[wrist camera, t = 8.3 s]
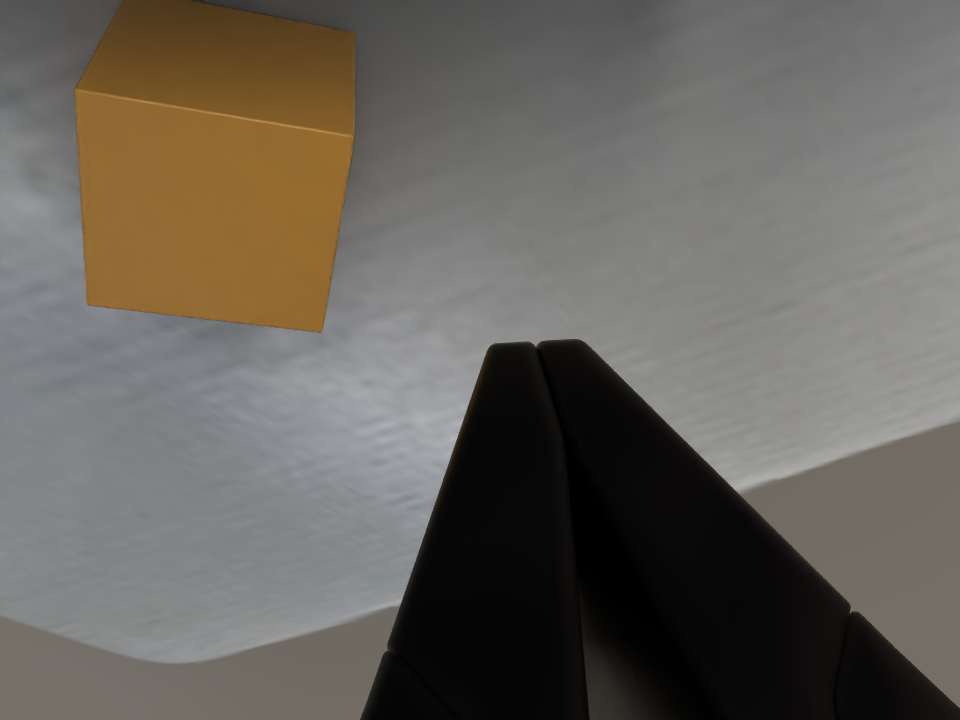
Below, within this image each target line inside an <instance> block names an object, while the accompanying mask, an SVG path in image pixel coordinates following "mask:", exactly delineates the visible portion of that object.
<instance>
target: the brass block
mask: <svg viewBox="0 0 960 720" xmlns="http://www.w3.org/2000/svg"><path fill="white" fill-rule="evenodd" d="M355 37H356V35H355V33H354V32H349V31H344V30H339V29H334V28H329V27H324V26H319V25H314V24H308V23H303V22H298V21H293V20H288V19H283V18H278V17H273V16H268V15H263V14H258V13H253V12H247V11H242V10H237V9H232V8H227V7H222V6H217V5H212V4H207V3H202V2H197V1H192V0H122V1H121V3H120V5H119V7H118V8H117V10H116V12H115V14H114V16H113V18H112V20H111V22H110V24H109V25H108V27H107V29H106V31H105V33H104V35H103V37H102V39H101V41H100V42H99V44H98V46H97V48H96V50H95V52H94V54H93V56H92V58H91V59H90V61H89V63H88V65H87V67H86V69H85V71H84V73H83V75H82V77H81V78H80V80H79V82H78V84H77V86H76V88H75V90H74V94H75V111H76V128H77V145H78V162H79V179H80V195H81V212H82V229H83V246H84V263H85V280H86V297H87V304H88V305H89V306H97V307H105V308H114V309H123V310H131V311H140V312H148V313H157V314H165V315H174V316H183V317H191V318H200V319H208V320H217V321H225V322H234V323H243V324H251V325H260V326H268V327H277V328H285V329H294V330H303V331H311V332H322V331H323V327H324V321H325V315H326V309H327V303H328V297H329V291H330V285H331V279H332V273H333V267H334V261H335V255H336V249H337V242H338V236H339V230H340V224H341V218H342V212H343V206H344V200H345V194H346V188H347V182H348V176H349V170H350V163H351V157H352V151H353V145H354V139H355Z"/></svg>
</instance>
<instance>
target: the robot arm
mask: <svg viewBox="0 0 960 720" xmlns="http://www.w3.org/2000/svg"><path fill="white" fill-rule="evenodd" d="M387 647H388V651H386V652H385V653H384V654H383V656H382V659H381V662H380V665H379V668H378V672H377V674H376V677H375V680H374V683H373V686H372V689H371V692H370V695H369V697H368V700H367V703H366V705H365V708H364V711H363V713H362V716H361V719H360V720H960V708H959V707H958V706H956V705H955V704H954V703H953V702H952V701H951V700H950V699H949V698H948V697H947V696H946V695H945V694H944V693H943V692H942V691H940V690H939V689H938V688H937V687H936V686H935V685H934V684H933V683H932V682H931V681H930V680H929V679H928V678H927V677H926V676H925V675H923V674H922V673H921V672H920V671H919V670H918V669H917V668H916V667H915V666H914V665H913V664H912V663H911V662H910V661H909V660H908V659H907V658H905V657H904V656H903V655H902V654H901V653H900V652H899V651H898V650H897V649H896V648H895V647H894V646H893V645H892V644H891V643H890V642H889V641H888V640H887V639H886V638H885V637H884V636H883V635H882V634H881V633H880V632H879V631H878V630H877V629H876V628H875V627H874V626H873V625H872V624H871V623H870V622H869V621H867V620H866V618H864V617H863V616H862V615H861V614H860V613H859V612H856V611H854V612H851V613H850V604H849V602H848V601H847V600H846V599H845V598H844V597H843V596H842V595H841V594H840V593H839V592H838V591H837V590H836V589H834V587H833V586H831V584H829V583H828V582H827V581H826V580H825V579H824V578H823V577H822V576H821V575H820V574H819V573H818V572H817V571H816V570H815V569H814V568H813V567H812V566H811V565H810V564H809V563H808V562H807V561H806V560H805V559H804V558H803V557H802V556H801V555H800V554H799V553H798V552H797V551H796V550H795V549H794V548H793V547H792V546H791V545H790V544H789V543H788V542H787V541H786V540H785V539H784V538H783V537H782V536H781V535H780V534H779V533H778V532H777V531H776V530H775V529H774V528H773V527H772V526H771V525H770V524H769V523H768V522H766V520H764V518H763V517H762V516H761V515H760V514H758V512H757V511H756V510H755V509H754V508H752V506H751V505H750V504H748V503H747V502H746V501H745V500H744V499H743V498H742V497H741V496H740V495H739V494H738V493H737V492H736V491H735V490H734V489H733V488H732V487H731V486H730V485H729V484H728V483H727V482H726V481H725V480H724V479H723V478H722V477H721V476H720V475H719V474H718V473H717V472H716V471H715V470H714V469H713V468H712V467H711V466H710V465H709V464H708V463H707V462H706V461H705V460H704V459H703V458H702V457H701V456H700V455H699V454H698V453H697V452H696V451H695V450H694V449H693V448H692V447H691V446H690V445H689V444H688V443H687V442H686V441H685V440H684V439H683V438H682V437H681V436H680V435H679V434H678V433H677V432H676V431H675V430H674V429H673V428H672V427H671V426H670V425H668V424H667V423H666V422H665V421H664V420H663V419H662V418H661V417H660V416H659V415H658V414H657V413H656V412H655V411H654V410H653V409H652V408H651V407H650V406H649V405H648V404H647V403H646V402H645V401H644V400H643V399H642V398H641V397H640V396H639V395H638V394H637V393H636V392H635V391H634V390H633V389H632V388H631V387H630V386H629V385H628V384H627V383H626V382H625V381H624V380H623V379H622V378H621V377H620V376H619V375H618V374H617V373H616V372H615V371H614V370H613V369H612V368H611V367H610V366H609V365H608V364H607V363H606V362H605V361H604V360H603V359H602V358H601V357H600V356H599V355H598V354H597V353H596V352H595V351H594V350H593V349H592V348H591V347H589V346H588V345H587V344H586V343H585V342H583V341H581V340H579V339H565V340H547V341H541V342H540V343H539V344H538V345H537V346H536V347H535V345H534V344H532V343H531V342H511V343H495V344H492V345H491V346H490V347H489V348H488V350H487V352H486V355H485V358H484V361H483V364H482V367H481V370H480V373H479V376H478V379H477V382H476V385H475V388H474V391H473V394H472V397H471V400H470V402H469V405H468V408H467V411H466V414H465V417H464V420H463V423H462V426H461V429H460V432H459V435H458V438H457V441H456V444H455V447H454V450H453V452H452V455H451V458H450V461H449V464H448V467H447V470H446V473H445V476H444V479H443V482H442V485H441V488H440V491H439V494H438V497H437V500H436V502H435V505H434V508H433V511H432V514H431V517H430V520H429V523H428V526H427V529H426V532H425V535H424V538H423V541H422V544H421V547H420V550H419V552H418V555H417V558H416V561H415V564H414V567H413V570H412V573H411V576H410V579H409V582H408V585H407V588H406V591H405V594H404V597H403V600H402V602H401V605H400V608H399V611H398V614H397V617H396V621H395V623H394V626H393V629H392V632H391V635H390V638H389V641H388V644H387Z"/></svg>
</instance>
